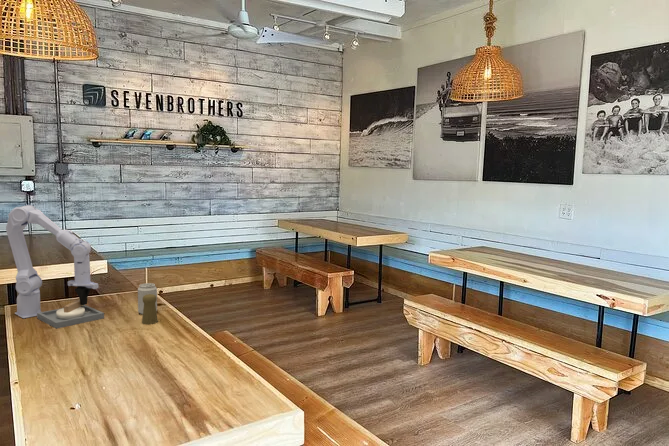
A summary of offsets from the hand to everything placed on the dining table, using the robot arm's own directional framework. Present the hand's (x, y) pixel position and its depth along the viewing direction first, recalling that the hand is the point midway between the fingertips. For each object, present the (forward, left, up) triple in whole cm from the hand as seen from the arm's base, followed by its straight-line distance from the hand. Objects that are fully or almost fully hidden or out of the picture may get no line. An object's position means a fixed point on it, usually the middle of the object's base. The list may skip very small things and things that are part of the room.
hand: (83, 304), depth 205 cm
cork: (+28, +13, -4) cm, 31 cm away
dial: (+1, -5, -3) cm, 6 cm away
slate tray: (+2, -6, -4) cm, 8 cm away
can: (+16, +19, -4) cm, 25 cm away
